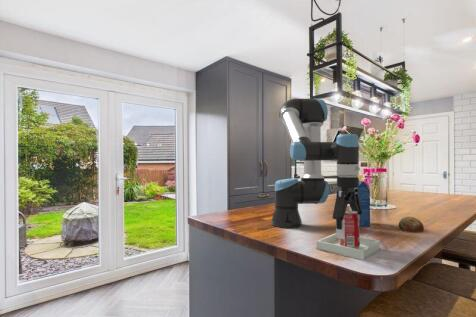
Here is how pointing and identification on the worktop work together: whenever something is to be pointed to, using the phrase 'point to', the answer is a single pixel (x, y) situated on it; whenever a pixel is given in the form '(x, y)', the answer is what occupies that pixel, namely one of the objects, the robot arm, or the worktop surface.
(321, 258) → the worktop surface
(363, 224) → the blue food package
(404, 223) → the bread roll
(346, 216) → the soda can
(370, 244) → the tray
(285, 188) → the robot arm
